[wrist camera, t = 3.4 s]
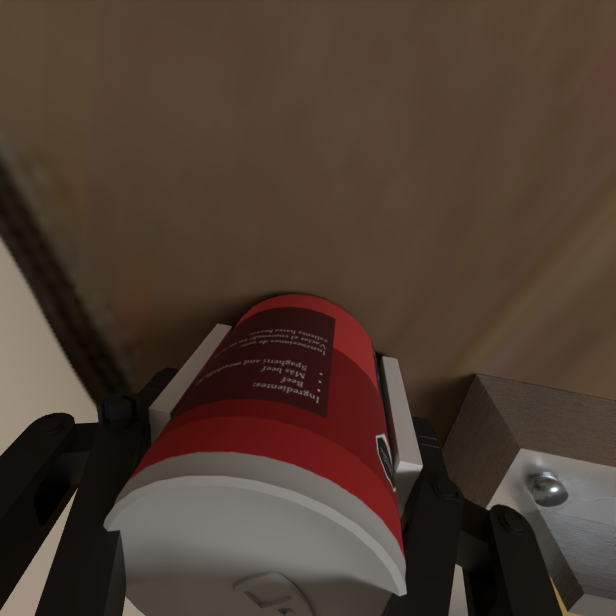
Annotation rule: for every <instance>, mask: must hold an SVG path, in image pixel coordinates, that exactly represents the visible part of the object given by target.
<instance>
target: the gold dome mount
mask: <svg viewBox="0 0 616 616" xmlns="http://www.w3.org/2000/svg"><path fill="white" fill-rule="evenodd" d="M441 453H442V456H443V460H444V463H445V466H446V469H447V472H448V475H449V479H450V480H452V481H453V482H454V483H455V484H456V485H457V486H458V487H459V488H460V490H461V492H462V494H463V496H464V497H465V498H466V499H468V500H469V501H471V502H473V503H475V504H477V505H479V506H481V507H483V508H485V509H487V510H490V509H491V507H492V506H493V505H497V504H501V505H507V506H509V507H511V508H513V509H515V510H516V511H517V512H519V513H520V514H521V515H523V516H524V518H525V519H526V520H527V521H528V522H529V523H530V525H531V527H532V529H533V531H534V533H535V536H536V539H537V542H538V545H539V548H540V550H541V553H542V556H543V559H544V562H545V565H546V568H547V571H548V574H549V576H550V579H551V582H552V585H553V588H554V591H555V594H556V597H557V600H558V602H559V605H560V608H561V611H562V614H563V616H616V401H613V400H608V399H603V398H598V397H593V396H588V395H583V394H578V393H572V392H567V391H562V390H557V389H552V388H547V387H542V386H537V385H532V384H527V383H522V382H517V381H512V380H507V379H501V378H496V377H491V376H486V375H481V374H476V375H475V377H474V379H473V382H472V384H471V386H470V388H469V391H468V393H467V395H466V397H465V400H464V402H463V404H462V406H461V409H460V411H459V413H458V415H457V417H456V420H455V422H454V424H453V426H452V429H451V431H450V433H449V435H448V438H447V440H446V442H445V444H444V447H443V449H442V451H441ZM449 616H468V610H467V603H466V595H465V587H464V580H463V572H462V567H460V566H459V565H457V564H455V572H454V579H453V586H452V594H451V601H450V608H449Z"/></svg>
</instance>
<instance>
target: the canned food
mask: <svg viewBox="0 0 616 616" xmlns="http://www.w3.org/2000/svg"><path fill="white" fill-rule="evenodd" d="M103 526H104V528H105V529H106V530H107V531H116V530H120V532H121V538H122V545H123V552H124V562H125V572H126V587H127V588H126V595H125V596H126V597H127V598H128V599H129V600H130V601H131V602H132V603H133V605H134V606H135V607H136V608H137V609H138V610H140V611H141V612H142V613H143V614H144V615H146V616H381V615H382V613H383V611H384V609H385V607H386V605H387V603H388V601H389V599H390V597H391V595H392V593H395V594H396V595H398V596H399V597H400V596H402V595H405V594H407V591H406V582H405V572H406V563H405V555H404V548H403V541H402V532H401V523H400V514H399V507H398V500H397V494H396V487H395V480H394V473H393V467H392V460H391V453H390V446H389V440H388V433H387V426H386V419H385V413H384V406H383V399H382V392H381V385H380V379H379V372H378V365H377V358H376V353H375V350H374V347H373V345H372V342H371V340H370V338H369V336H368V335H367V333H366V332H365V330H364V328H363V327H362V326H361V325H360V324H359V323H358V322H357V321H356V320H355V318H354V317H353V316H352V315H351V314H350V313H349V312H347V311H346V310H345V309H343V308H342V307H341V306H339V305H337V304H335V303H333V302H331V301H329V300H327V299H325V298H322V297H318V296H315V295H310V294H300V293H295V294H284V295H280V296H277V297H274V298H270V299H267V300H265V301H263V302H261V303H259V304H257V305H256V306H254V307H252V308H251V309H250V310H249V311H248V312H247V313H246V314H244V315H243V316H242V318H241V319H240V321H239V322H238V324H237V325H236V326H235V328H234V329H233V331H232V332H231V333H230V335H229V336H228V338H227V339H226V341H225V342H224V343H223V345H222V346H221V348H220V349H219V351H218V352H217V353H216V355H215V356H214V358H213V359H212V360H211V362H210V363H209V365H208V366H207V368H206V369H205V370H204V372H203V373H202V375H201V376H200V378H199V379H198V380H197V382H196V383H195V385H194V386H193V388H192V389H191V390H190V392H189V393H188V395H187V396H186V397H185V399H184V400H183V402H182V403H181V405H180V406H179V407H178V409H177V410H176V412H175V413H174V415H173V416H172V417H171V419H170V420H169V422H168V423H167V424H166V426H165V427H164V429H163V430H162V432H161V433H160V434H159V436H158V437H157V439H156V440H155V442H154V443H153V444H152V446H151V447H150V449H149V450H148V452H147V453H146V454H145V456H144V457H143V459H142V460H141V462H140V464H139V465H138V467H137V469H136V470H135V472H134V473H133V475H132V476H131V477H130V479H129V480H128V482H127V483H126V485H125V486H124V488H123V489H122V490H121V492H120V493H119V495H118V496H117V499H116V501H115V504H114V507H113V508H112V510H111V511H110V513H109V514H108V516H107V517H106V518H105V521H104V525H103Z"/></svg>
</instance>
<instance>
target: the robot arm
mask: <svg viewBox="0 0 616 616" xmlns="http://www.w3.org/2000/svg"><path fill="white" fill-rule="evenodd" d="M231 332H232V326H228V325H223V324H217V325H216V326H215V327H214V329H213V330H212V331H211V332H210V334H209V335H208V336H207V337H206V339H205V340H204V341H203V342H202V343H201V345H200V346H199V347H198V348H197V350H196V351H195V352H194V353H193V355H192V356H191V357H190V358H189V359H188V361H187V362H186V363H185V364H184V366H183V367H182V368H181V369H180V370H178V369H173V368H168V367H167V368H165V369H164V370H162V371H160V372H158V373H157V374H156V375H155V376H154V377H153V378H152V379H151V380H150V382H148V383H147V385H146V386H145V387H144V389H142V390H141V391H140V392H139V393H138V394H137V395H135V394H133V393H129V392H120V393H114V394H112V395H109V396H107V397H105V398H104V399H102V400H101V401H100V402H99V404H98V405H97V412H98V420H99V422H97V423H82V424H81V423H80V424H75V421H74V417H72V416H71V415H70V414H66V413H53V414H49V415H45V416H43V417H41V418H39V419H37V420H35V421H34V422H33V423H32V424H31V425H29V426H28V428H26V430H25V431H24V432H23V433H22V434H21V435H20V436H19V437H18V438H17V439H16V440H15V441H14V442H13V443H12V444H11V445H10V446H9V447H8V449H7V450H6V451H5V452H4V453H3V454H2V455H1V456H0V610H1V609H2V607H3V605H4V604H5V602H6V601H7V599H8V597H9V596H10V594H11V593H12V591H13V589H14V588H15V586H16V584H17V583H18V582H19V580H20V578H21V577H22V575H23V574H24V572H25V570H26V569H27V567H28V566H29V564H30V563H31V561H32V559H33V558H34V556H35V554H36V553H37V551H38V550H39V548H40V547H41V545H42V543H43V542H44V540H45V539H46V537H47V536H48V534H49V532H50V530H51V529H52V528H53V526H54V524H55V523H56V521H57V520H58V518H59V516H60V515H61V513H62V512H63V510H64V509H65V507H66V505H67V504H68V502H69V501H70V499H71V497H72V496H73V494H74V493H75V491H76V489H77V488H78V489H77V492H76V495H75V498H74V501H73V504H72V507H71V509H70V512H69V515H68V518H67V521H66V524H65V527H64V530H63V533H62V536H61V539H60V542H59V545H58V548H57V551H56V554H55V557H54V560H53V563H52V566H51V569H50V572H49V575H48V578H47V581H46V584H45V587H44V590H43V592H42V596H41V598H40V601H39V604H38V607H37V610H36V613H35V616H122V613H123V607H124V601H125V595H126V588H127V587H126V572H125V562H124V552H123V545H122V538H121V532H120V530H116V531H107V530H106V529H105V528H104V526H103V525H104V521H105V518H106V517H107V516H108V514H109V513H110V511H111V510H112V508H113V507H114V504H115V501H116V499H117V496H118V495H119V493H120V492H121V490H122V489H123V488H124V486H125V485H126V483H127V482H128V480H129V479H130V477H131V476H132V475H133V473H134V472H135V470H136V469H137V467H138V465H139V464H140V462H141V460H142V459H143V457H144V456H145V454H146V453H147V452H148V450H149V449H150V447H151V446H152V444H153V443H154V442H155V440H156V439H157V437H158V436H159V434H160V433H161V432H162V430H163V429H164V427H165V426H166V424H167V423H168V422H169V420H170V419H171V417H172V416H173V415H174V413H175V412H176V410H177V409H178V407H179V406H180V405H181V403H182V402H183V400H184V399H185V397H186V396H187V395H188V393H189V392H190V390H191V389H192V388H193V386H194V385H195V383H196V382H197V380H198V379H199V378H200V376H201V375H202V373H203V372H204V370H205V369H206V368H207V366H208V365H209V363H210V362H211V360H212V359H213V358H214V356H215V355H216V353H217V352H218V351H219V349H220V348H221V346H222V345H223V343H224V342H225V341H226V339H227V338H228V336H229V335H230V333H231ZM378 372H379V379H380V385H381V392H382V399H383V406H384V413H385V419H386V426H387V433H388V440H389V446H390V453H391V460H392V467H393V473H394V480H395V487H396V494H397V500H398V507H399V514H400V519H401V516H402V514H403V512H404V509H405V512H406V518H407V521H406V524H405V526H404V528H403V531H402V541H403V548H404V555H405V563H406V572H405V582H406V591H407V594H405V595H402V596H400V597H399V596H398V595H396V594H395V593H392V595H391V597H390V599H389V601H388V603H387V605H386V607H385V609H384V611H383V613H382V615H381V616H449V608H450V601H451V594H452V586H453V579H454V572H455V564H457V565H459V566H460V567H462V572H463V580H464V587H465V595H466V603H467V610H468V616H563V614H562V611H561V608H560V605H559V602H558V600H557V597H556V594H555V591H554V588H553V585H552V582H551V579H550V576H549V574H548V571H547V568H546V565H545V562H544V559H543V556H542V553H541V550H540V548H539V545H538V542H537V539H536V536H535V533H534V531H533V529H532V527H531V525H530V523H529V522H528V521H527V520H526V519H525V518H524V516H523V515H521V514H520V513H519V512H517V511H516V510H515V509H513V508H511V507H509V506H507V505H501V504H497V505H493V506H492V507H491V509H490V510H487V509H485V508H483V507H481V506H479V505H477V504H475V503H473V502H471V501H469V500H468V499H466V498H465V497H464V496H463V494H462V492H461V490H460V488H459V487H458V486H457V485H456V484H455V483H454V482H453V481H452V480H450V479H449V475H448V472H447V469H446V466H445V463H444V460H443V456H442V453H441V450H440V449H439V444H438V441H437V437H436V434H435V431H434V429H433V427H432V426H431V425H430V423H429V422H428V421H427V420H426V419H422V418H418V417H413V416H411V414H410V410H409V406H408V402H407V398H406V393H405V389H404V385H403V381H402V377H401V373H400V369H399V365H398V361H397V359H395V358H390V357H385V356H382V359H381V362H380V366H379V369H378Z"/></svg>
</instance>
